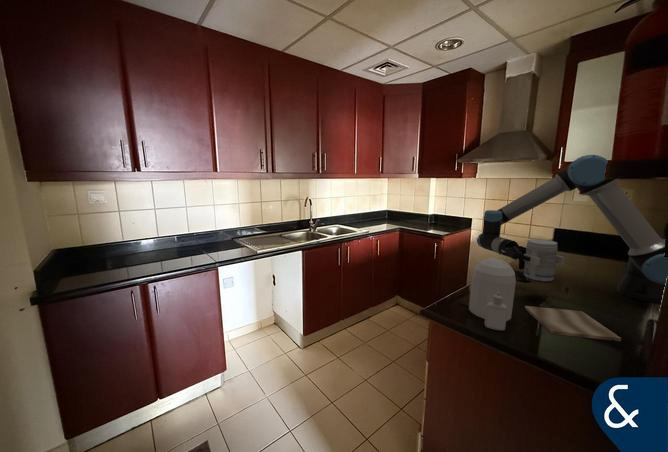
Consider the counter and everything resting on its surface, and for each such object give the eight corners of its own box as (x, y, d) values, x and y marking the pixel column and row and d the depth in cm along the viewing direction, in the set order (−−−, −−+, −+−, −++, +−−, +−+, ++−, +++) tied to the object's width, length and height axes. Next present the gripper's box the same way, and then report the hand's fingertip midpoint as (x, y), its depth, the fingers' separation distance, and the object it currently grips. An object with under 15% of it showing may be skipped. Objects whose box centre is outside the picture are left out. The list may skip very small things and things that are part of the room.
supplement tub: (557, 279, 104) (562, 242, 102) (548, 284, 99) (553, 245, 97) (529, 272, 112) (533, 237, 110) (518, 276, 107) (523, 240, 105)
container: (516, 324, 88) (524, 266, 84) (470, 317, 92) (476, 261, 89) (505, 307, 100) (512, 255, 97) (466, 301, 105) (471, 251, 101)
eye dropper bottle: (501, 333, 82) (506, 297, 80) (482, 326, 87) (486, 291, 85) (506, 328, 85) (511, 293, 83) (487, 321, 89) (491, 287, 87)
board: (581, 313, 95) (581, 311, 95) (620, 341, 79) (621, 338, 79) (524, 308, 99) (525, 305, 99) (551, 333, 83) (551, 330, 82)
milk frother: (551, 278, 130) (556, 249, 127) (549, 288, 118) (554, 256, 116) (516, 272, 139) (520, 244, 137) (511, 280, 127) (515, 250, 125)
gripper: (525, 254, 124) (575, 269, 102) (482, 255, 121) (523, 272, 99) (527, 238, 123) (578, 250, 101) (483, 239, 120) (525, 252, 98)
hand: (551, 261), depth 100 cm, fingers closed on supplement tub, 9 cm apart
